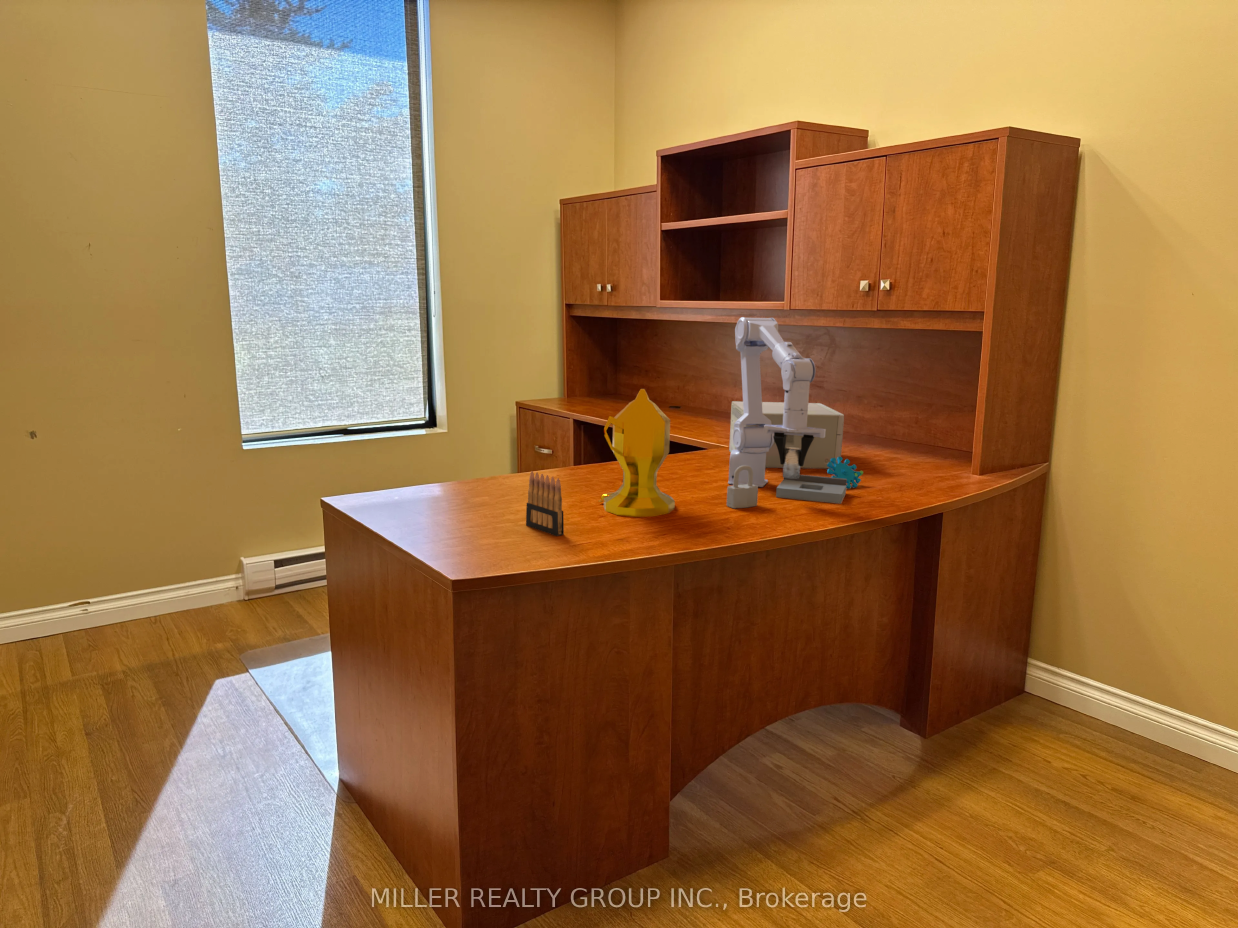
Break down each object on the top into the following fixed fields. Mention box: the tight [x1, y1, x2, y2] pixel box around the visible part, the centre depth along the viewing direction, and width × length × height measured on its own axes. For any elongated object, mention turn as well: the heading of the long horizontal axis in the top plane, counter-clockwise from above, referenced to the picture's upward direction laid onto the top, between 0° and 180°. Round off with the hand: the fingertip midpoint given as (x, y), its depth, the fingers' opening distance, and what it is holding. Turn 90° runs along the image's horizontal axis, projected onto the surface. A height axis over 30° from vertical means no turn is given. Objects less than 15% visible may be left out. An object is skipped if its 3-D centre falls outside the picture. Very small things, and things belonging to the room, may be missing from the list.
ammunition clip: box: [525, 470, 565, 537], centre depth 179 cm, size 11×2×12 cm, turn 43°
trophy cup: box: [598, 388, 676, 518], centre depth 198 cm, size 18×24×28 cm
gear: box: [826, 456, 864, 490], centre depth 230 cm, size 11×6×10 cm
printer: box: [728, 401, 845, 470], centre depth 263 cm, size 27×29×16 cm
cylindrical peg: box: [782, 447, 801, 479], centre depth 207 cm, size 4×4×7 cm
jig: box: [775, 474, 847, 505], centre depth 217 cm, size 16×12×4 cm
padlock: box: [726, 465, 759, 509], centre depth 204 cm, size 7×4×10 cm, turn 118°
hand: (792, 464), depth 207 cm, fingers closed on cylindrical peg, 4 cm apart
